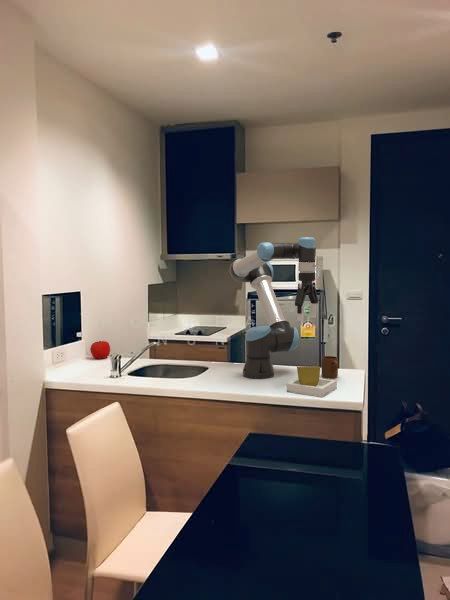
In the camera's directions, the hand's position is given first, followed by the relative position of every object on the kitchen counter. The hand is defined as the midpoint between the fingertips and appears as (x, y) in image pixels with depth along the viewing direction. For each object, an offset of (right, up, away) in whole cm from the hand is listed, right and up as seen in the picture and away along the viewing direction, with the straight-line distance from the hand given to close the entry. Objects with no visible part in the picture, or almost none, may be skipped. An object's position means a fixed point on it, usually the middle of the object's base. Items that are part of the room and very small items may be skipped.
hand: (306, 319), depth 228 cm
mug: (+13, -28, +9) cm, 32 cm away
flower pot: (-1, -29, -14) cm, 32 cm away
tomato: (-108, -25, +61) cm, 127 cm away
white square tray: (0, -30, -12) cm, 32 cm away
